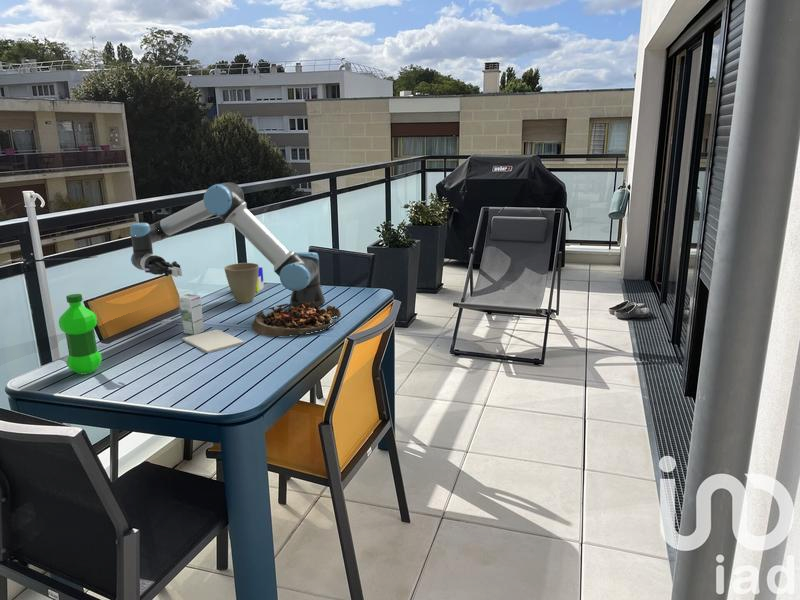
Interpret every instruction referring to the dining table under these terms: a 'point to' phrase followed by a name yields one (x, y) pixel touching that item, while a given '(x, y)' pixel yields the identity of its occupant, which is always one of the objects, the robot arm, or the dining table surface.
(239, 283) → the plant pot
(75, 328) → the plastic bottle
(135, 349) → the dining table surface
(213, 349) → the mat
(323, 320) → the food dish
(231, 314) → the dining table surface
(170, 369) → the dining table surface
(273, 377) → the dining table surface
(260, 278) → the puzzle toy
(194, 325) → the syrup box
